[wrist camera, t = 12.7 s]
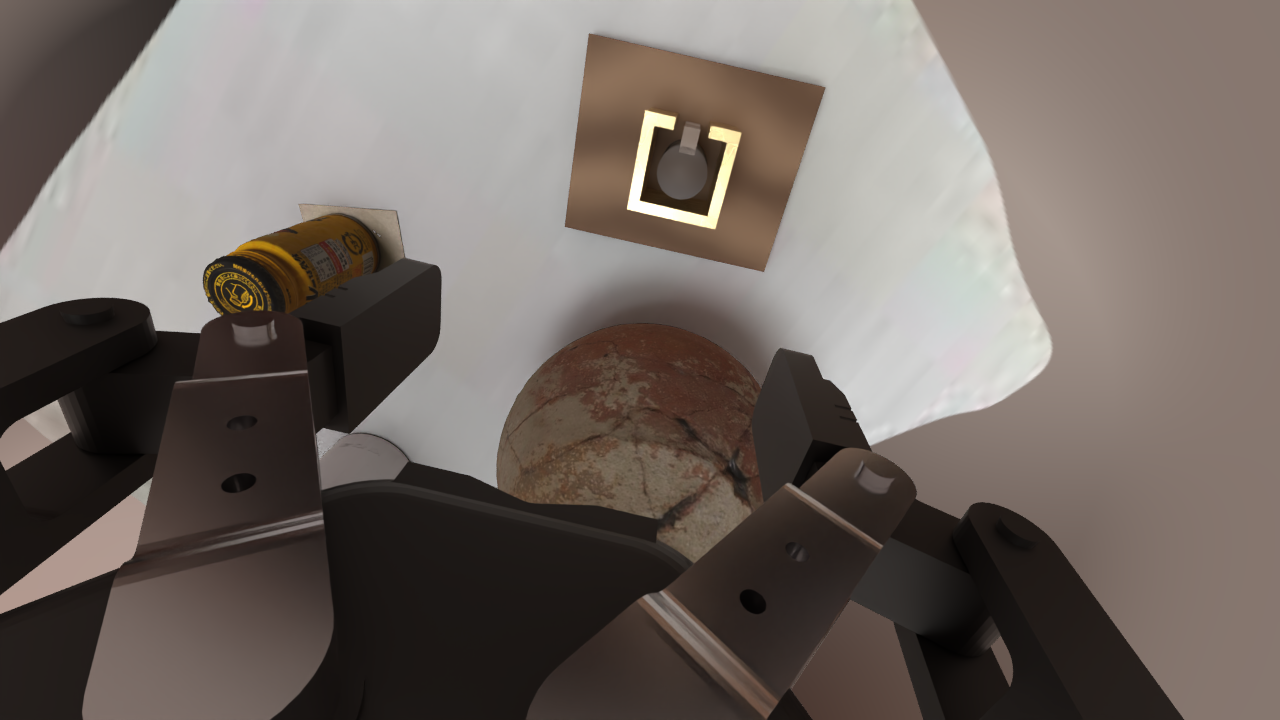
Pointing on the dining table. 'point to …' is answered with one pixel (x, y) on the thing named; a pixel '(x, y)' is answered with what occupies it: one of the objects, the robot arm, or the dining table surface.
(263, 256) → the condiment
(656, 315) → the dining table surface
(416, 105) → the dining table surface
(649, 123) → the collar
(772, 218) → the keyed stand
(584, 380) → the jug
